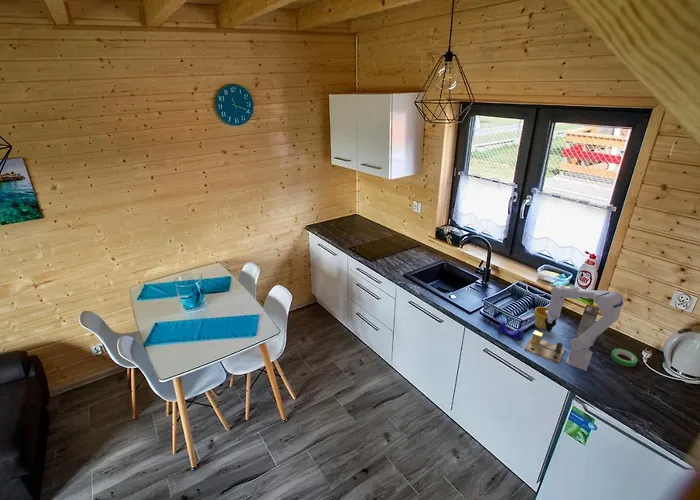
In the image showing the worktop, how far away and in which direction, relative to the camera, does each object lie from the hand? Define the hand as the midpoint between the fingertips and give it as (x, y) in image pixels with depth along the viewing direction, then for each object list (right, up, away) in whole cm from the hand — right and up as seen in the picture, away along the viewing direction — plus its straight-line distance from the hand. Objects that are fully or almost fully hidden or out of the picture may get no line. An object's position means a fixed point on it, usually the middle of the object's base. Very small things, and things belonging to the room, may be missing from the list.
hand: (549, 327), depth 211 cm
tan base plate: (-4, -11, -2) cm, 12 cm away
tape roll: (+34, -15, -8) cm, 38 cm away
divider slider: (-8, -9, 0) cm, 12 cm away
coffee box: (+25, -6, +11) cm, 28 cm away
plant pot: (+4, -2, +18) cm, 18 cm away
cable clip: (-17, -6, +11) cm, 21 cm away
